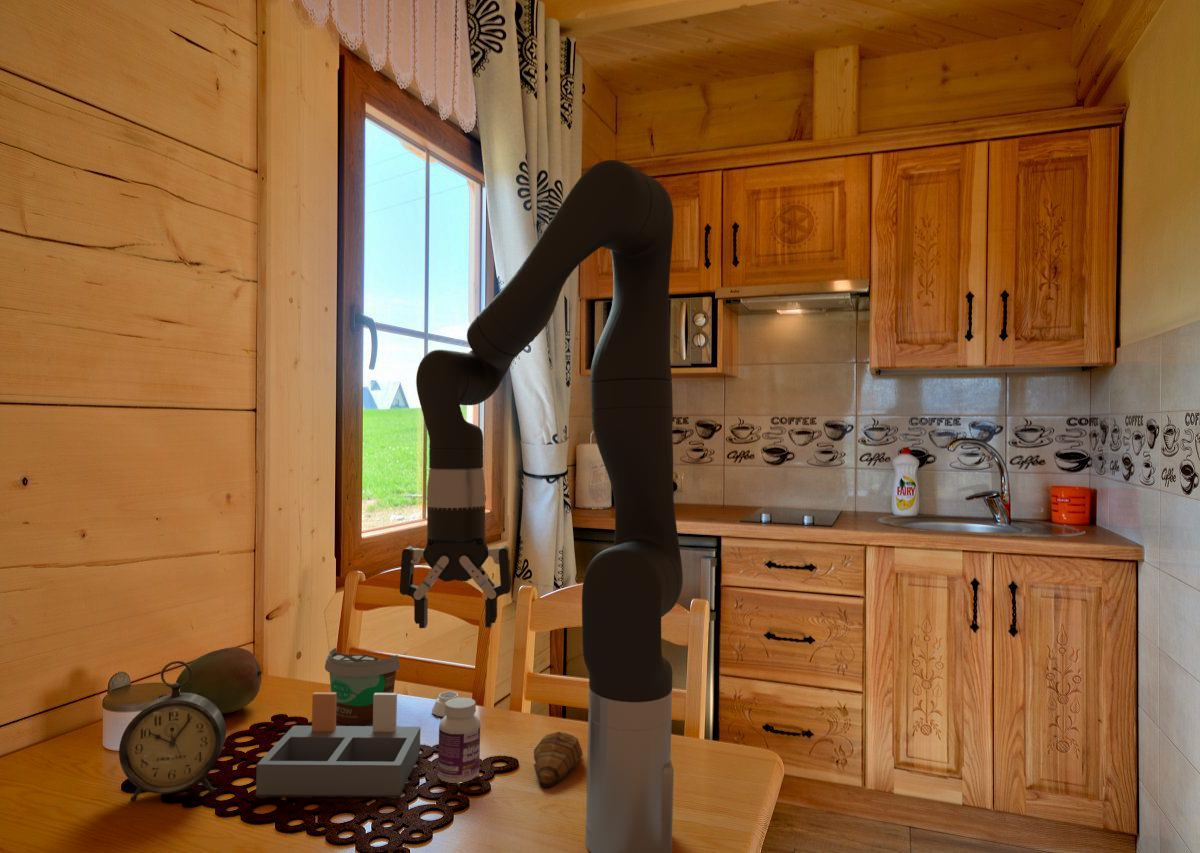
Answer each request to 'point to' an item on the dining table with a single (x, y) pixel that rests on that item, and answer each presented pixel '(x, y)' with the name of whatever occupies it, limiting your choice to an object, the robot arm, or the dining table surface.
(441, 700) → the white jar
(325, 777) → the grey divided tray
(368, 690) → the food container
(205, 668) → the fruit
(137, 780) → the alarm clock
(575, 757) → the croissant
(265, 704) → the dining table surface
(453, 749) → the pill bottle
